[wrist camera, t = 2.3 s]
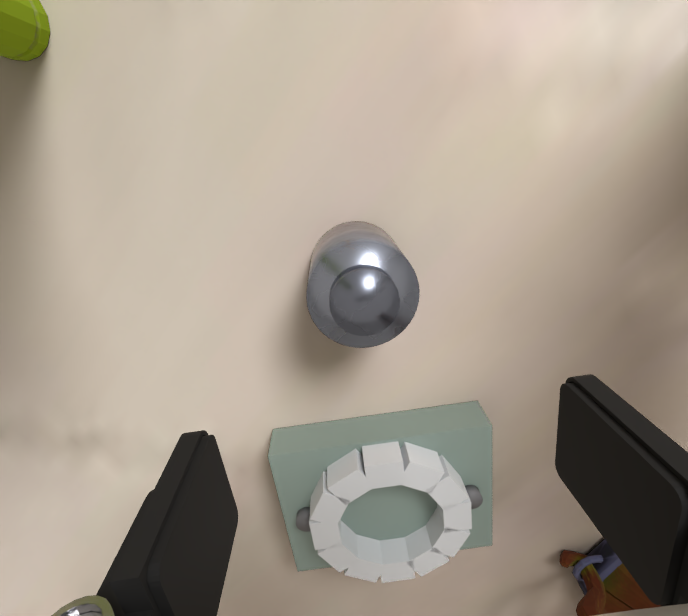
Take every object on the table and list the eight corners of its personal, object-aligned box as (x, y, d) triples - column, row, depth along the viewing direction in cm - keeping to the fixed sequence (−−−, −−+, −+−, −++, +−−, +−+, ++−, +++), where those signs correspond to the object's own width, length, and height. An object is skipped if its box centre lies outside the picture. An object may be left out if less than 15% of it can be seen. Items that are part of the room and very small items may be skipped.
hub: (396, 215, 26) (419, 237, 19) (403, 301, 28) (426, 347, 22) (303, 228, 26) (295, 255, 20) (318, 314, 28) (315, 363, 22)
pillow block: (477, 400, 31) (503, 444, 27) (479, 514, 36) (502, 569, 31) (272, 429, 32) (263, 477, 27) (299, 538, 36) (296, 596, 31)
